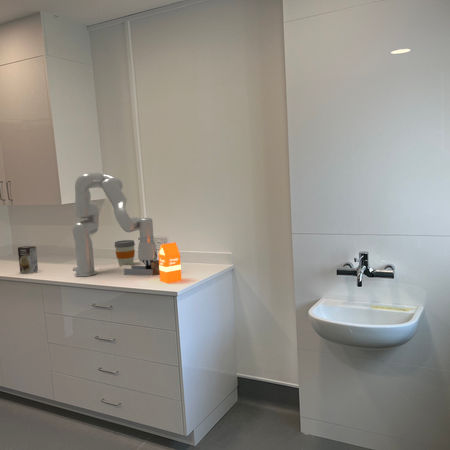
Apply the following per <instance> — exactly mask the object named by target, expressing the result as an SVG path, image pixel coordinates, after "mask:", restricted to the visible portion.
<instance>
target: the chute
mask: <svg viewBox="0 0 450 450" xmlns="http://www.w3.org/2000/svg"><path fill="white" fill-rule="evenodd" d="M130 266H131V267H130V268H123V275H126V276H127V275H128V276H131V275H132V276H154V275H153V269H146V265H130Z"/></svg>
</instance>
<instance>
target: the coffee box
mask: <svg viewBox="0 0 450 450" xmlns="http://www.w3.org/2000/svg"><path fill="white" fill-rule="evenodd" d="M37 251H38V250H37V245H36V246H35V245H33V246H31V245H30V246H29V245H28V246H27V245H25V246H20V247H17V255H18V264H19V265H18V266H19V273H20V274H28V273H32V274H34V273H33V272H35V273H38V272H39V264H38V263H39V262H38V253H37ZM37 271H38V272H37Z"/></svg>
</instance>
